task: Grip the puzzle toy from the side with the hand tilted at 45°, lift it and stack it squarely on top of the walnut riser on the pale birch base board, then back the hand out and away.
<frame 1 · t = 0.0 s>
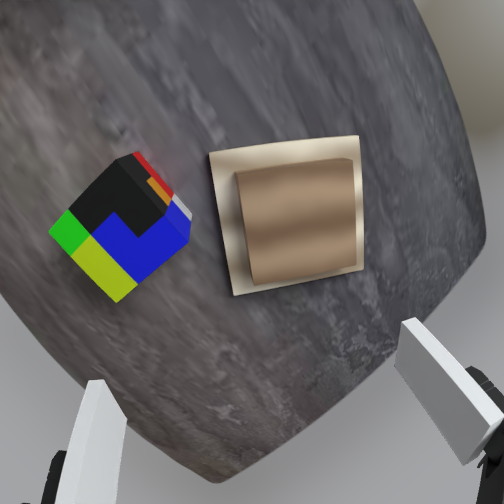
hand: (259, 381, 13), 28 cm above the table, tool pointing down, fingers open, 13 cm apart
build plinth: (293, 213, 40), on the table
puzzle toy: (135, 209, 37), on the table
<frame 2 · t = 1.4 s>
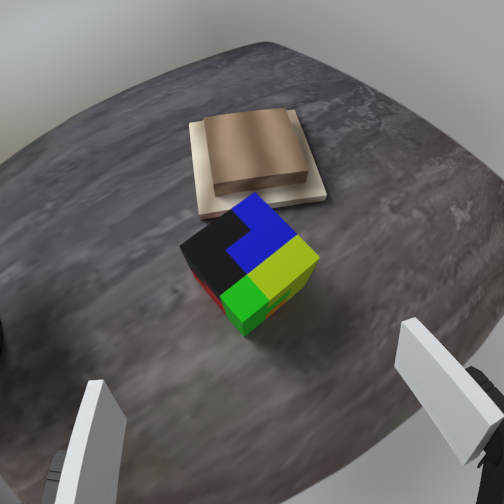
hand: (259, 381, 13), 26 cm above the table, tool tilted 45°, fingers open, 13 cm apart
build plinth: (252, 160, 48), on the table
puzzle toy: (249, 282, 41), on the table
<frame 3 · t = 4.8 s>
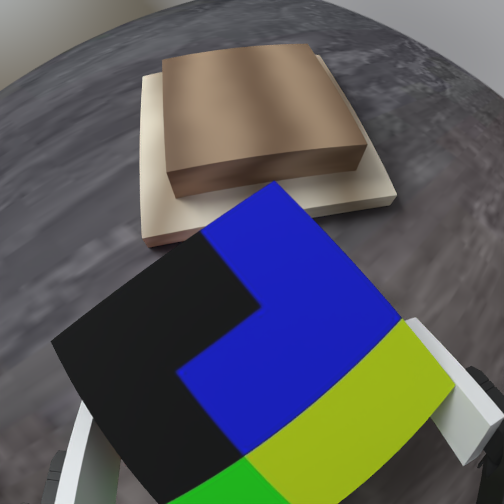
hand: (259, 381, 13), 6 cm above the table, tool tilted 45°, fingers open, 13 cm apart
build plinth: (251, 130, 25), on the table
puzzle toy: (251, 380, 18), on the table, touching gripper
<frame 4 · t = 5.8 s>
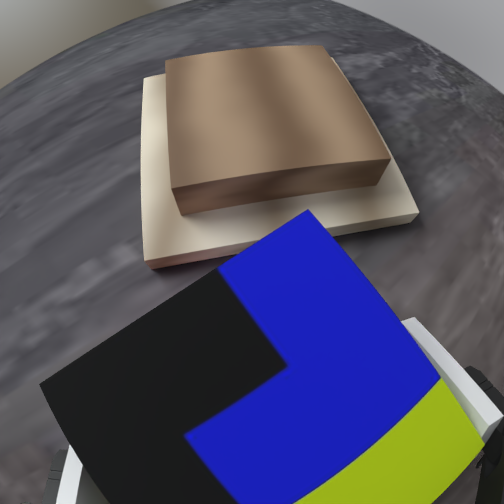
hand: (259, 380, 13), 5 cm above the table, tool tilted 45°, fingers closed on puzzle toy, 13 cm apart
build plinth: (261, 138, 24), on the table
puzzle toy: (259, 412, 16), on the table, touching gripper
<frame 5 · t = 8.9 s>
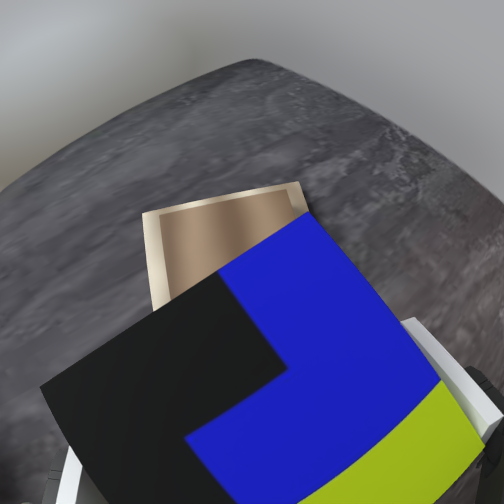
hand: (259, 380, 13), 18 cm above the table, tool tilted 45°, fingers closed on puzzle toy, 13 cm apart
build plinth: (238, 276, 33), on the table
puzzle toy: (259, 414, 16), point 13 cm above the table, touching gripper
when the fingers open (11 cm above the table, at t = 12.2 s): puzzle toy drops 1 cm, resting on build plinth.
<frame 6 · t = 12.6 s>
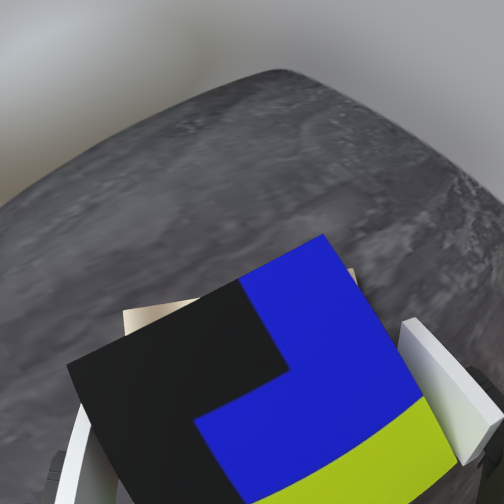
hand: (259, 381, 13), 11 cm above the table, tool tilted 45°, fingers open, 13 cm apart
build plinth: (262, 410, 22), on the table
puzzle toy: (259, 410, 18), point 4 cm above the table, touching build plinth, gripper
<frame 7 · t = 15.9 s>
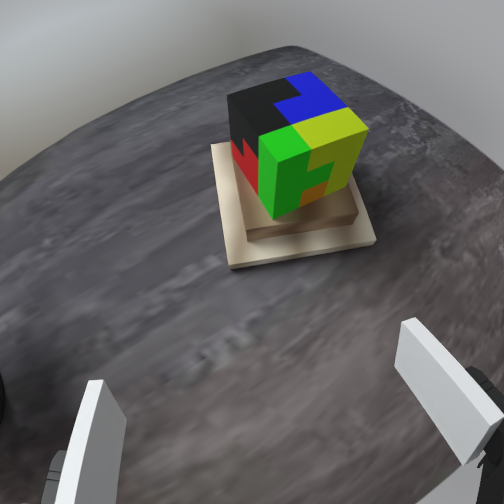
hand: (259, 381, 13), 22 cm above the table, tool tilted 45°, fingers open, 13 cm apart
build plinth: (288, 193, 41), on the table
puzzle toy: (288, 171, 38), point 4 cm above the table, touching build plinth
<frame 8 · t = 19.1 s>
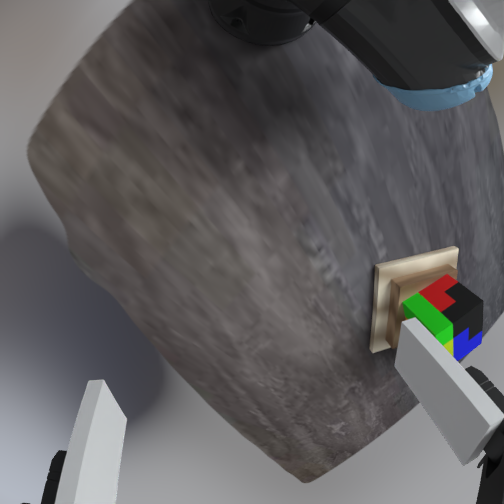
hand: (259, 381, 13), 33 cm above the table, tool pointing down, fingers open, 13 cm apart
build plinth: (413, 298, 54), on the table
puzzle toy: (427, 308, 50), point 4 cm above the table, touching build plinth
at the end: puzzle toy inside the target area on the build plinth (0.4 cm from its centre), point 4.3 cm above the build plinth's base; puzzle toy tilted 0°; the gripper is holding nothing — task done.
